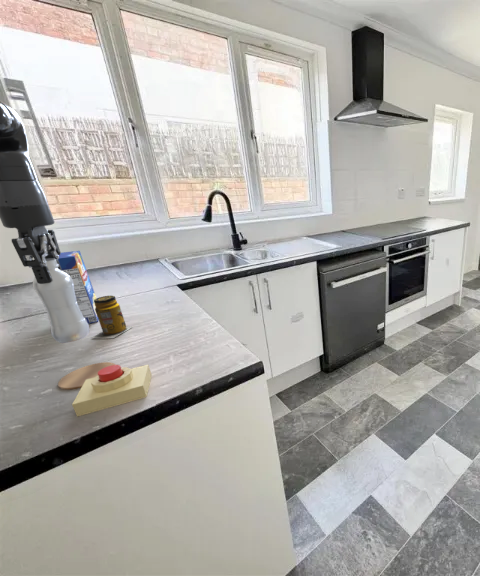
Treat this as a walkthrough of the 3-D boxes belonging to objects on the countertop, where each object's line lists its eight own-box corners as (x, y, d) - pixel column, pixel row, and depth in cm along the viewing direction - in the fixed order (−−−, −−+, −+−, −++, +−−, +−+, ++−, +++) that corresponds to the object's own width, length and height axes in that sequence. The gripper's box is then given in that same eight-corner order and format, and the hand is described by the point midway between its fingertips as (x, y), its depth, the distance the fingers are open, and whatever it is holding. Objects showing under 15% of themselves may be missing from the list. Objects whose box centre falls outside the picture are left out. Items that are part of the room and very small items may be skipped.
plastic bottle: (47, 347, 72) (12, 264, 65) (70, 334, 78) (40, 257, 72) (78, 345, 73) (47, 263, 66) (99, 332, 79) (72, 256, 73)
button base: (77, 416, 65) (68, 397, 63) (90, 390, 73) (83, 372, 72) (146, 397, 71) (140, 378, 69) (151, 375, 79) (146, 358, 77)
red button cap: (98, 384, 68) (95, 376, 67) (102, 375, 71) (100, 367, 70) (121, 379, 70) (118, 371, 69) (124, 370, 73) (122, 362, 72)
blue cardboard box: (74, 316, 115) (50, 253, 107) (101, 311, 119) (79, 250, 111) (69, 328, 106) (42, 260, 98) (97, 322, 110) (74, 256, 102)
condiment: (133, 326, 106) (123, 294, 102) (113, 338, 98) (101, 303, 94) (112, 327, 106) (101, 294, 102) (90, 339, 98) (77, 304, 94)
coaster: (51, 395, 72) (50, 393, 72) (67, 371, 81) (66, 369, 81) (111, 380, 77) (110, 378, 77) (120, 359, 86) (119, 358, 86)
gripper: (13, 202, 69) (41, 274, 75) (-25, 206, 57) (12, 291, 63) (58, 201, 73) (82, 269, 78) (32, 204, 61) (62, 284, 66)
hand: (51, 278), depth 70 cm, fingers closed on plastic bottle, 6 cm apart
